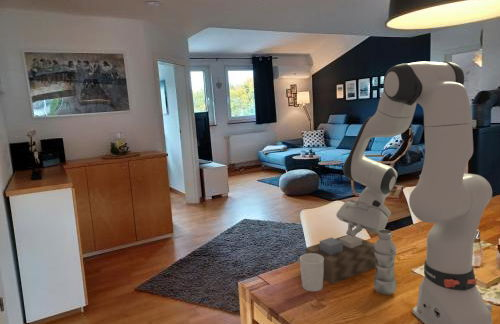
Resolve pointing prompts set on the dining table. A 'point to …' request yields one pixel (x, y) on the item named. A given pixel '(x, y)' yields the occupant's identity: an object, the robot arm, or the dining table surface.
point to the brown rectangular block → (346, 261)
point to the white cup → (312, 271)
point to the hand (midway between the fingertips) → (349, 235)
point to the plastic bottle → (385, 263)
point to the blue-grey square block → (331, 246)
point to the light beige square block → (351, 241)
